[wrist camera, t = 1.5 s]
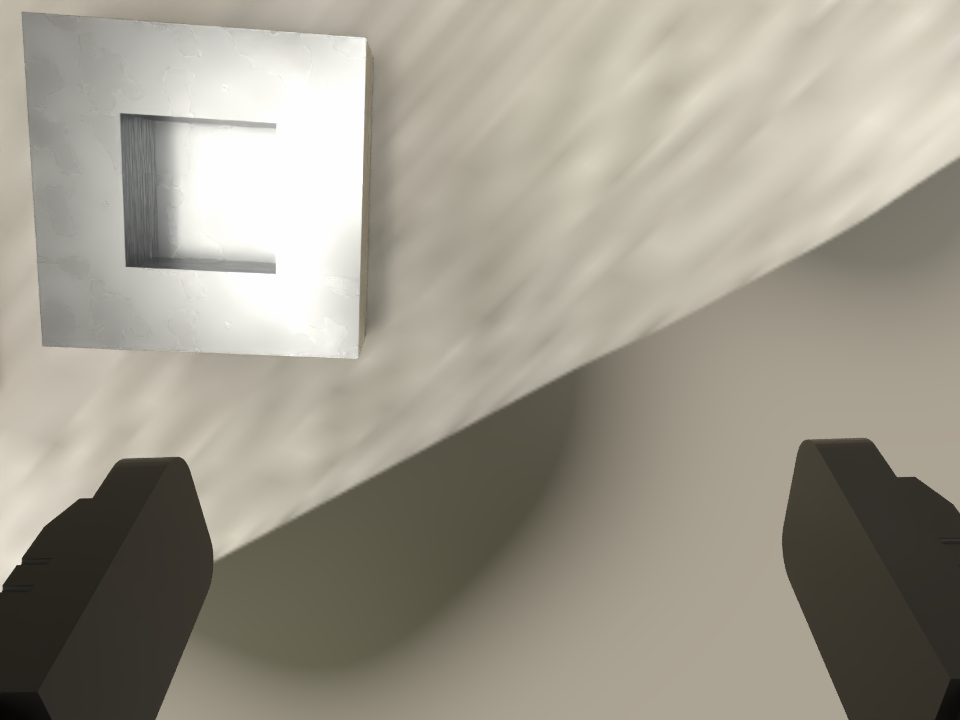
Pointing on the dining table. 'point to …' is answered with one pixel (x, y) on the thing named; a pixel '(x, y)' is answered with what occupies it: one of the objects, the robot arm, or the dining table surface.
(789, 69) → the dining table surface
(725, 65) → the dining table surface
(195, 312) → the port
